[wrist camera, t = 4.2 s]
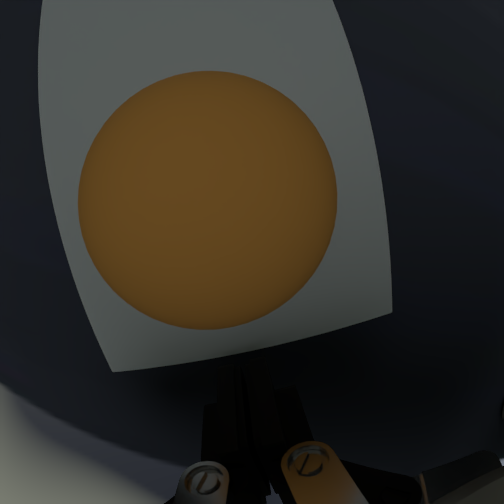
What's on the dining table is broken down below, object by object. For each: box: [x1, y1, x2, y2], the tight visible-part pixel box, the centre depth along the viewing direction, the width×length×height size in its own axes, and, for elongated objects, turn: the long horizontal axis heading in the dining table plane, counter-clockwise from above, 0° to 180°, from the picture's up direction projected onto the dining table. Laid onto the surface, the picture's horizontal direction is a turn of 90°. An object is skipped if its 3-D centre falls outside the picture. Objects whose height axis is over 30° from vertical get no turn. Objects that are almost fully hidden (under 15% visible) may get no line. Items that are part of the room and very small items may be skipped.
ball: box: [78, 71, 337, 330], centre depth 7 cm, size 6×6×6 cm
